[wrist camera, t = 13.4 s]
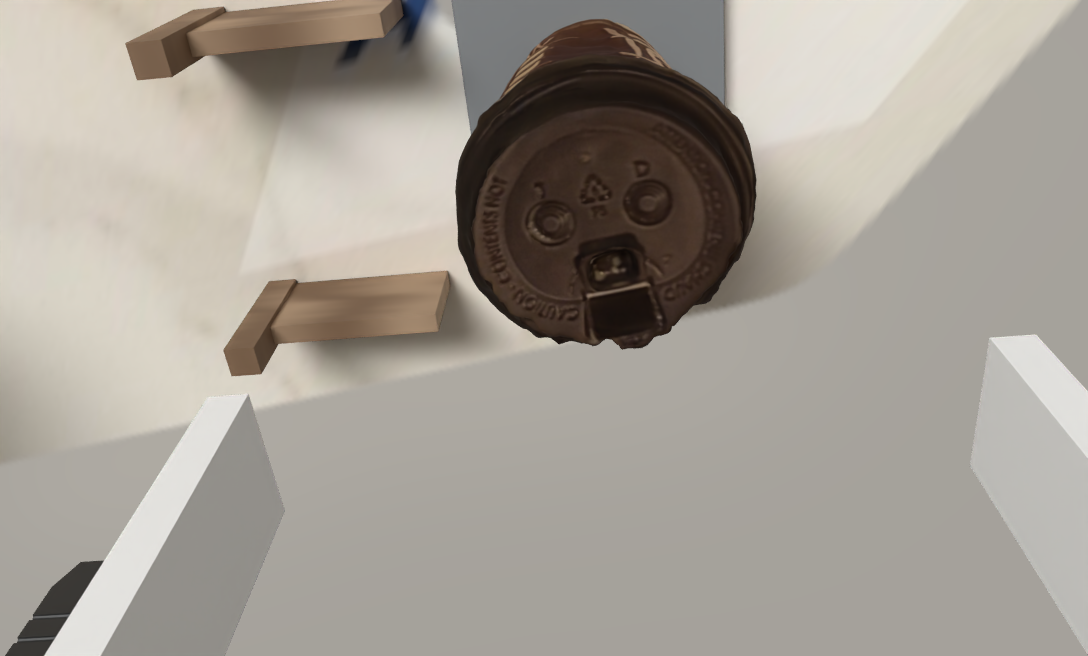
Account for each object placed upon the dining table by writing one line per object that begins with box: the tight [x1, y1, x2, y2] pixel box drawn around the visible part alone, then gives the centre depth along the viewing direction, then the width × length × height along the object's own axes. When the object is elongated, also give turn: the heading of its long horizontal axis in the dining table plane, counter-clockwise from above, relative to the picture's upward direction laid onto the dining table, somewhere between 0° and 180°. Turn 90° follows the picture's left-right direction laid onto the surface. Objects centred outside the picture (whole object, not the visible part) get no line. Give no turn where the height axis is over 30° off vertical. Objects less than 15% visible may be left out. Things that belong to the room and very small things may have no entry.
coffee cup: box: [455, 19, 756, 349], centre depth 30 cm, size 9×8×13 cm
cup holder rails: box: [125, 0, 450, 376], centre depth 35 cm, size 8×13×6 cm, turn 6°
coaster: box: [452, 0, 724, 135], centre depth 36 cm, size 10×10×1 cm
